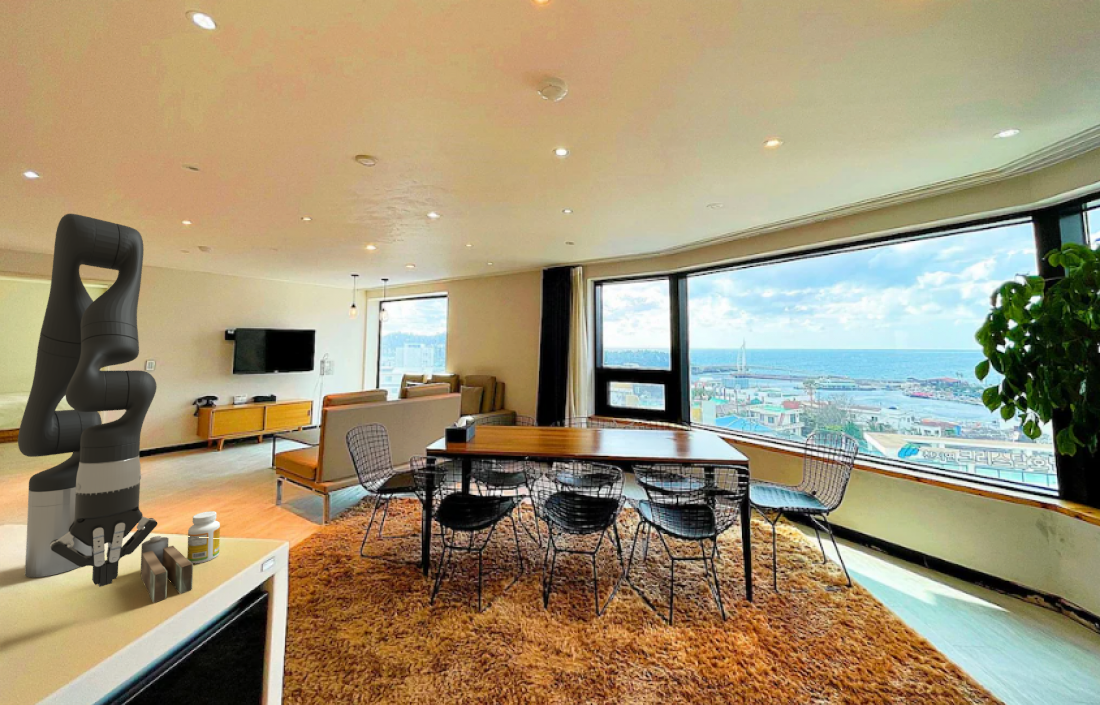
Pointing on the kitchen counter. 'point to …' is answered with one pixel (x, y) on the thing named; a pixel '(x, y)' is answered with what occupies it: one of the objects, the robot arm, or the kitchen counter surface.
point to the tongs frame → (171, 562)
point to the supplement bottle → (203, 547)
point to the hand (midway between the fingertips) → (104, 583)
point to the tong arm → (154, 576)
